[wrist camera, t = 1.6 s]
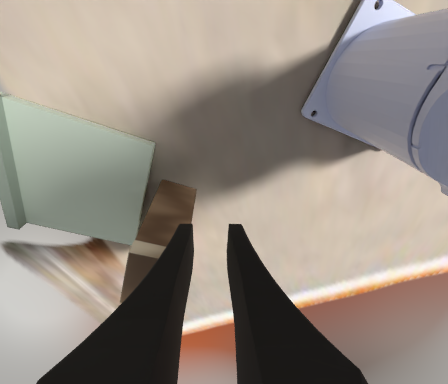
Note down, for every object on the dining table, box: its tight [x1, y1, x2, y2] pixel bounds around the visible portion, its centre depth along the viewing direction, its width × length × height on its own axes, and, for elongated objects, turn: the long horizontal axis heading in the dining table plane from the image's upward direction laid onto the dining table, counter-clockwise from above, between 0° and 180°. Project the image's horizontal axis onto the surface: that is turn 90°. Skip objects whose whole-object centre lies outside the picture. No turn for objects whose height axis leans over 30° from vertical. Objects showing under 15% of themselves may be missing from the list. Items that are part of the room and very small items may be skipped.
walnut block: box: [120, 179, 197, 303], centre depth 18 cm, size 4×6×9 cm, turn 159°
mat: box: [0, 92, 156, 246], centre depth 19 cm, size 12×13×2 cm
